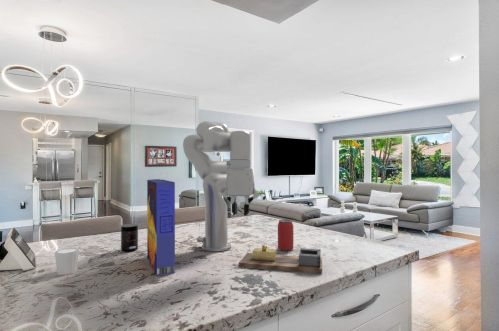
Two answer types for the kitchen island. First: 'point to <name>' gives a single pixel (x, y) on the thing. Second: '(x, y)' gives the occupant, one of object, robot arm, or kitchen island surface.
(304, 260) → the keeper
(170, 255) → the cereal box
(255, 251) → the bolt
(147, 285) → the kitchen island surface
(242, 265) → the door panel
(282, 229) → the beer can
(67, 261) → the white cup
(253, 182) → the robot arm
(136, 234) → the supplement container
